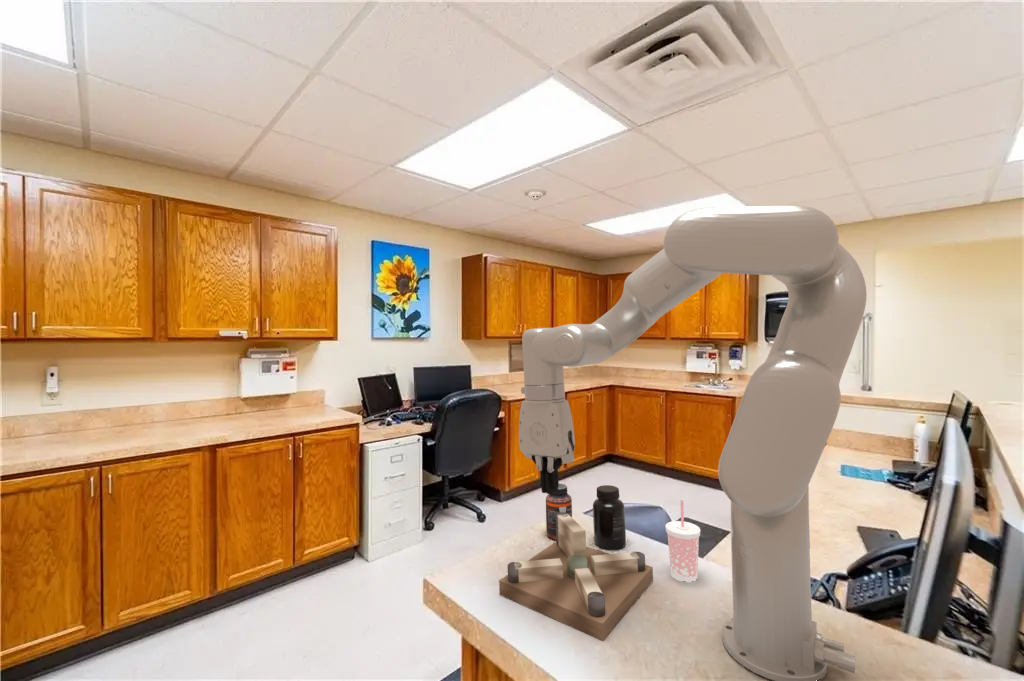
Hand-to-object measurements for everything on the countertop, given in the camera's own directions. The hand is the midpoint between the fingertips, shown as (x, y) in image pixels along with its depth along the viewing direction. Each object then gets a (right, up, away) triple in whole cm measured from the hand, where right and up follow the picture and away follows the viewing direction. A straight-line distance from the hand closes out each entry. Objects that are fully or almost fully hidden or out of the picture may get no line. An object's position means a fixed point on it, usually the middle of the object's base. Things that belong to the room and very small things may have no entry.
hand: (550, 491), depth 81 cm
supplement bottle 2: (+14, -16, +13) cm, 25 cm away
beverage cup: (+25, -16, 0) cm, 30 cm away
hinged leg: (+4, -14, +4) cm, 15 cm away
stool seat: (+5, -16, -3) cm, 17 cm away
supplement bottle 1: (+4, -17, +18) cm, 25 cm away
